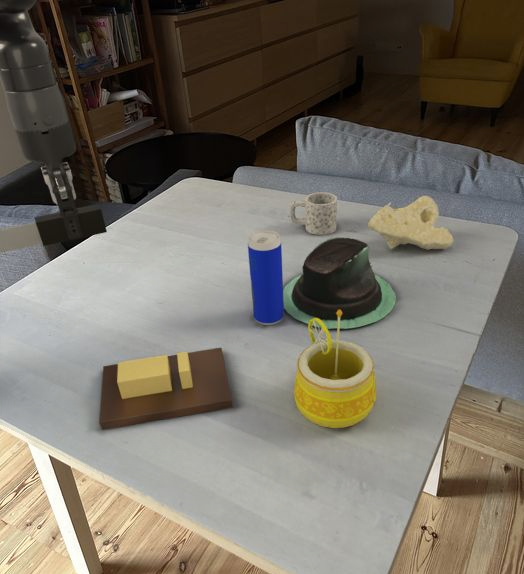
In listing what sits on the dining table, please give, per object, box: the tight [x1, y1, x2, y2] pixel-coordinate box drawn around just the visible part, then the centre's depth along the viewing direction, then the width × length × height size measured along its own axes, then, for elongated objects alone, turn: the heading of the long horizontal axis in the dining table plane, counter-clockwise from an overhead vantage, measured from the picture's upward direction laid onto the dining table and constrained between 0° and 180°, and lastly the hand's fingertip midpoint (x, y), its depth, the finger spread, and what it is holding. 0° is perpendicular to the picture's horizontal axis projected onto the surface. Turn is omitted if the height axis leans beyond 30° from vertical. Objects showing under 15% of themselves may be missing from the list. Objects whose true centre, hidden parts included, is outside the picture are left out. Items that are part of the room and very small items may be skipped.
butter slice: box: [176, 350, 193, 389], centre depth 76 cm, size 2×4×3 cm, turn 11°
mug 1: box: [289, 191, 338, 236], centre depth 114 cm, size 10×7×7 cm, turn 77°
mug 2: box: [293, 310, 377, 429], centre depth 70 cm, size 13×11×12 cm
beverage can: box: [247, 229, 285, 326], centre depth 86 cm, size 5×5×15 cm
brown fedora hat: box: [283, 236, 397, 330], centre depth 92 cm, size 15×19×20 cm
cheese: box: [367, 195, 454, 251], centre depth 106 cm, size 15×7×15 cm
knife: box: [0, 203, 108, 254], centre depth 84 cm, size 19×2×4 cm, turn 113°
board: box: [98, 347, 234, 431], centre depth 77 cm, size 18×12×2 cm, turn 101°
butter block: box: [117, 354, 172, 399], centre depth 76 cm, size 7×4×3 cm, turn 101°
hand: (74, 232), depth 86 cm, fingers closed on knife, 2 cm apart
